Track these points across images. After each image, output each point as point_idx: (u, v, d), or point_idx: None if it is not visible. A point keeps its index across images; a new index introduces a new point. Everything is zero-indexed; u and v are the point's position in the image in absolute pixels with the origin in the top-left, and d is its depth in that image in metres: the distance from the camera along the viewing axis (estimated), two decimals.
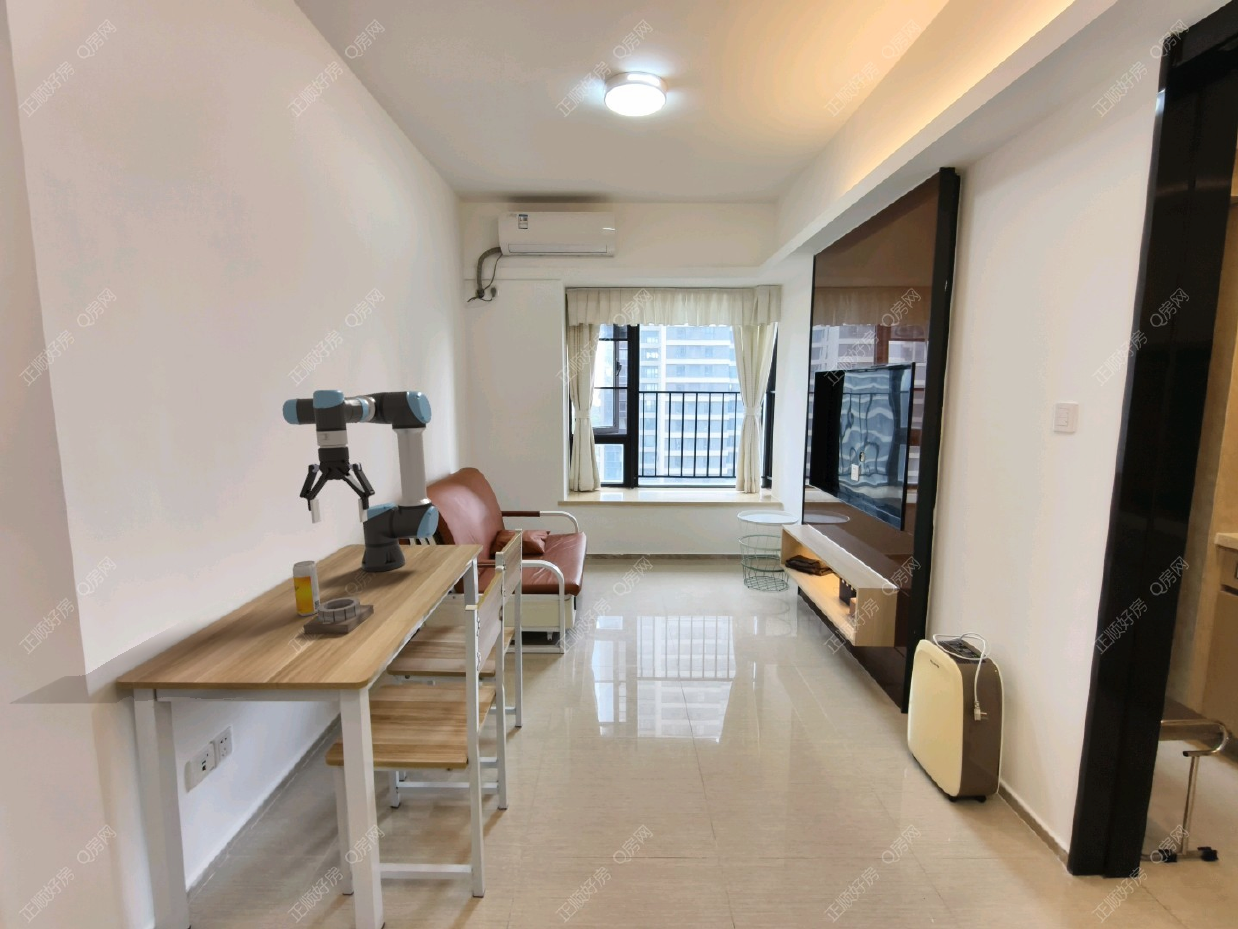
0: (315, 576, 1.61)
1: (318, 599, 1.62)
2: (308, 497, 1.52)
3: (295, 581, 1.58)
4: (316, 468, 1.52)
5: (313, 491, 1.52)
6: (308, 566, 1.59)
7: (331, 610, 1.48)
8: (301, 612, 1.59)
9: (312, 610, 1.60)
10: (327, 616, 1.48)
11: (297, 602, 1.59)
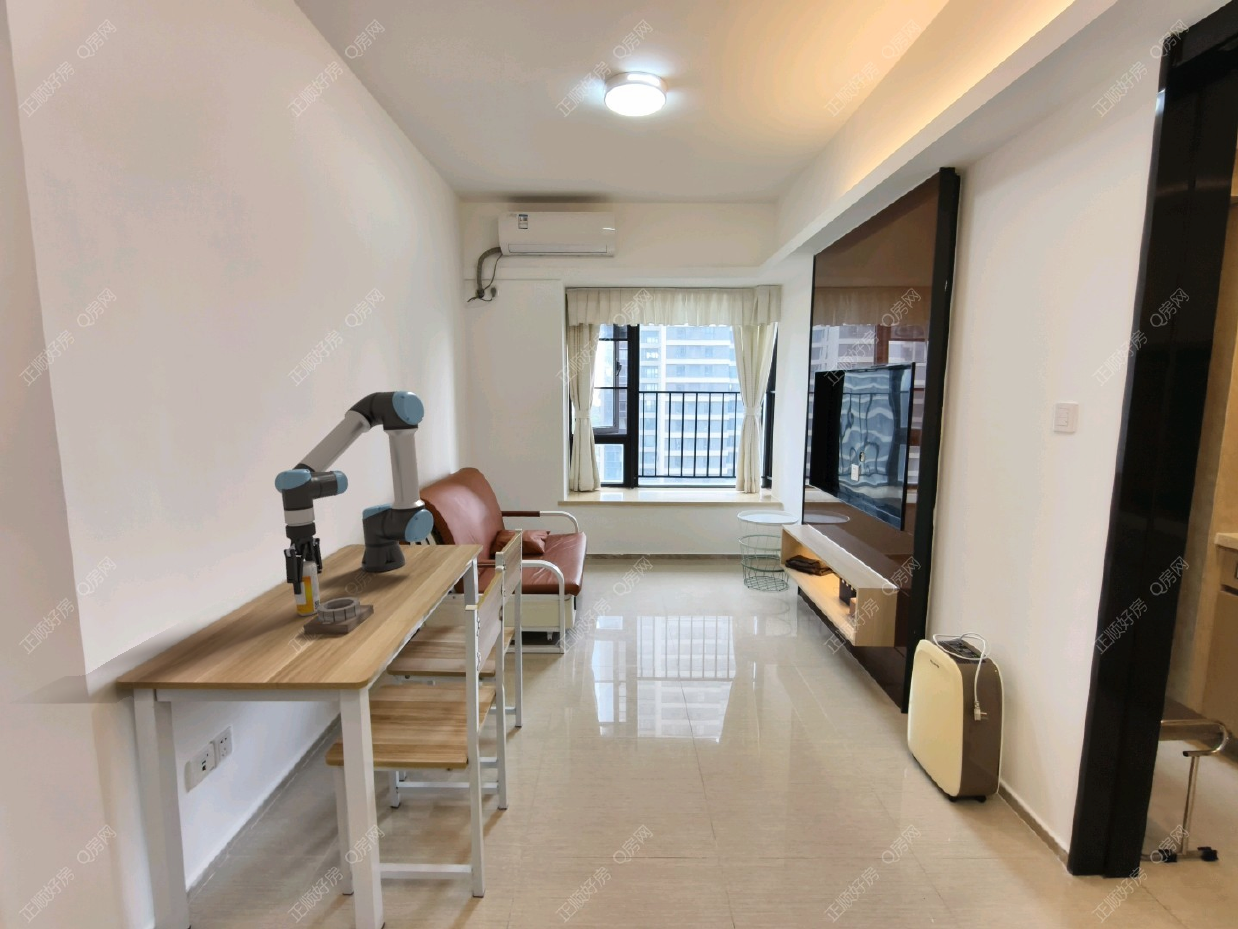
0: (315, 576, 1.61)
1: (318, 599, 1.62)
2: None
3: None
4: None
5: None
6: (308, 566, 1.59)
7: (331, 610, 1.48)
8: (301, 612, 1.59)
9: (312, 610, 1.60)
10: (327, 616, 1.48)
11: None
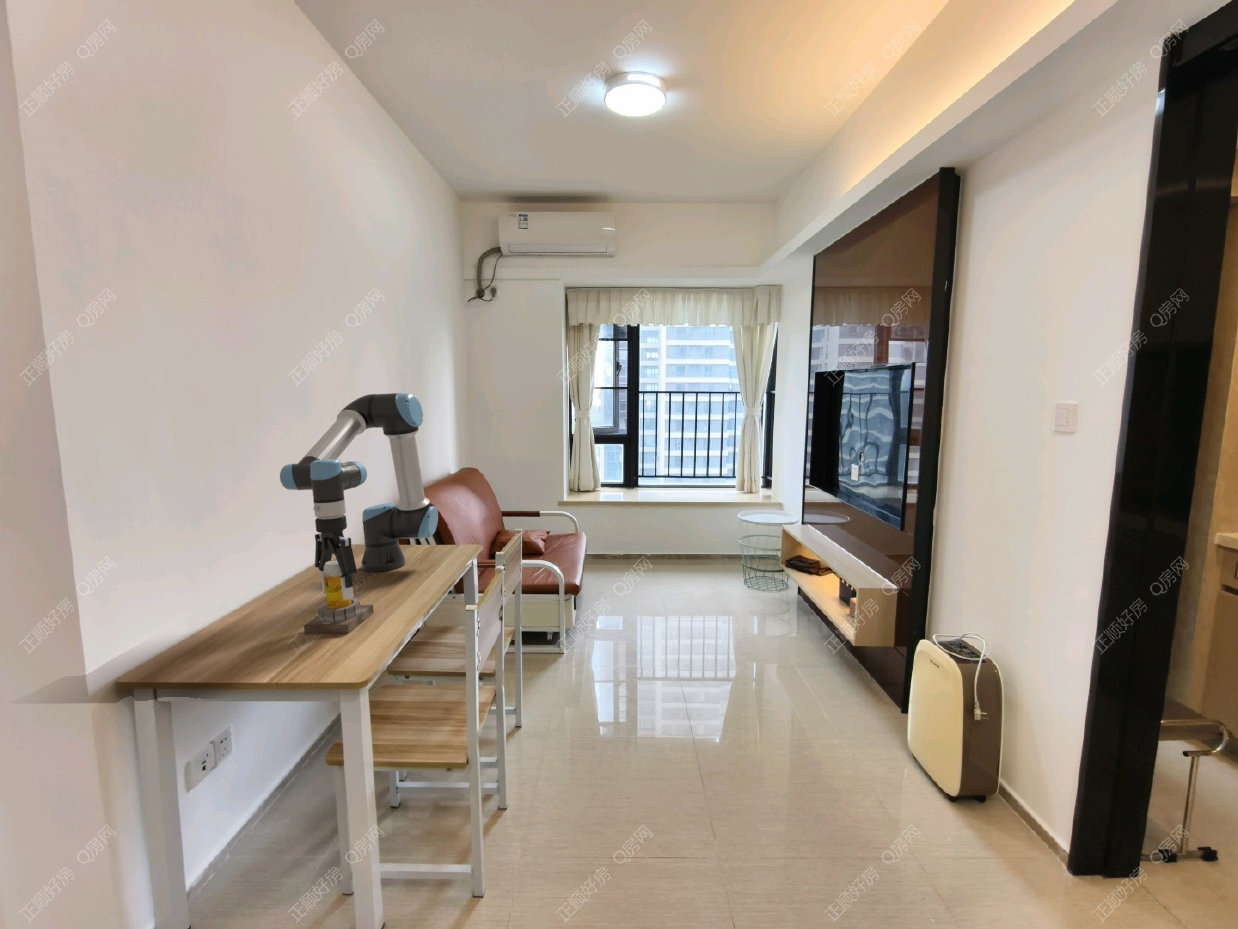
0: None
1: None
2: (319, 568, 1.54)
3: (337, 580, 1.50)
4: (321, 537, 1.53)
5: (321, 562, 1.53)
6: None
7: (331, 610, 1.48)
8: None
9: None
10: (327, 616, 1.48)
11: (339, 603, 1.50)
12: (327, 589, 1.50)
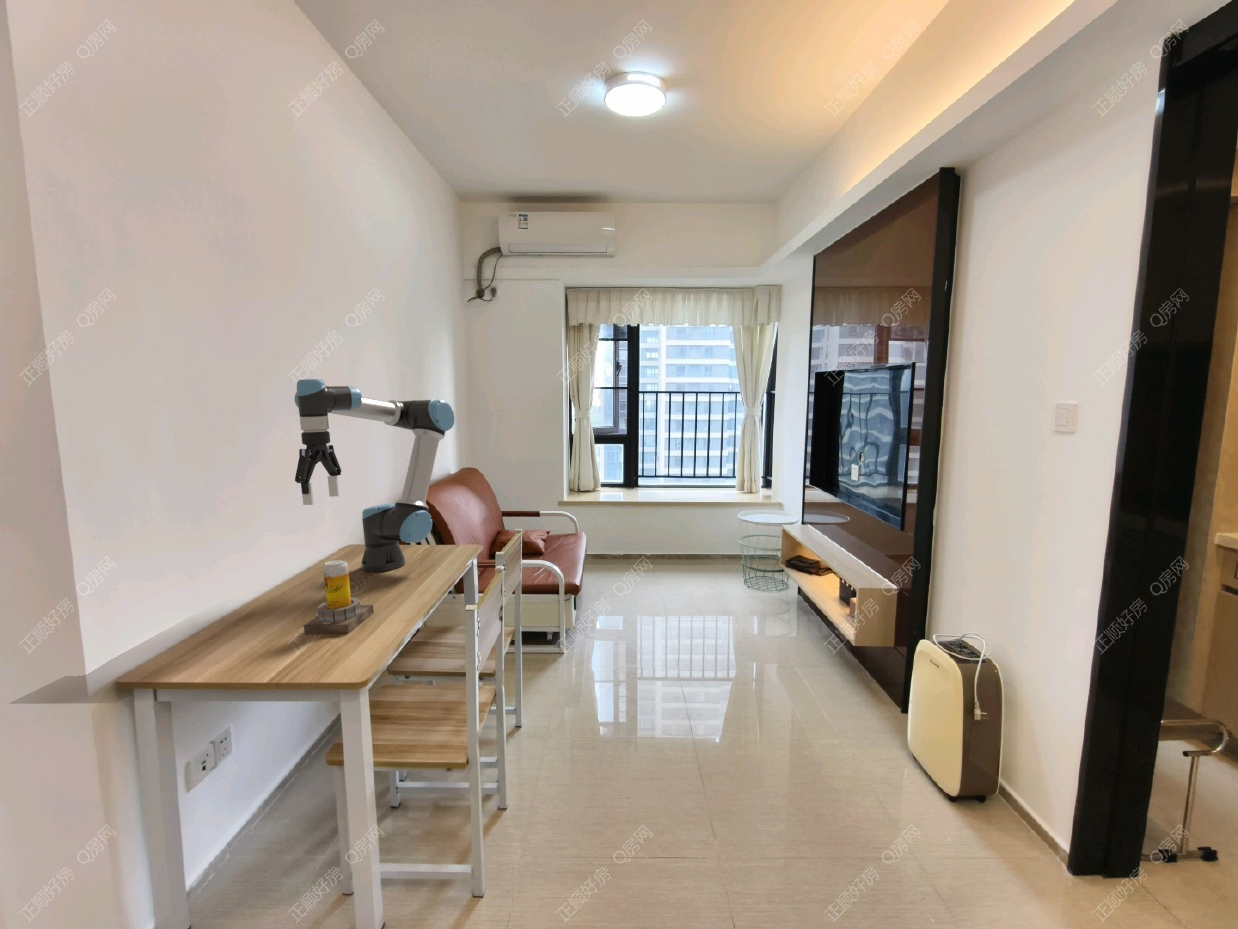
0: None
1: None
2: None
3: (337, 581, 1.50)
4: None
5: None
6: (346, 562, 1.53)
7: (331, 610, 1.48)
8: None
9: None
10: (327, 616, 1.48)
11: (338, 603, 1.50)
12: (327, 589, 1.50)
